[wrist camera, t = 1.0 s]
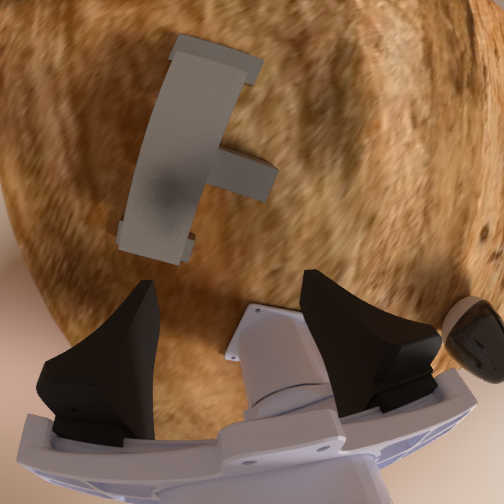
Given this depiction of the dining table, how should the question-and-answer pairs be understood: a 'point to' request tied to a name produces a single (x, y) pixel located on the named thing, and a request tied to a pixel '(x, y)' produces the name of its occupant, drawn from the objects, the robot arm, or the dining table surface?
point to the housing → (182, 147)
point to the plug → (242, 174)
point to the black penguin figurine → (476, 338)
